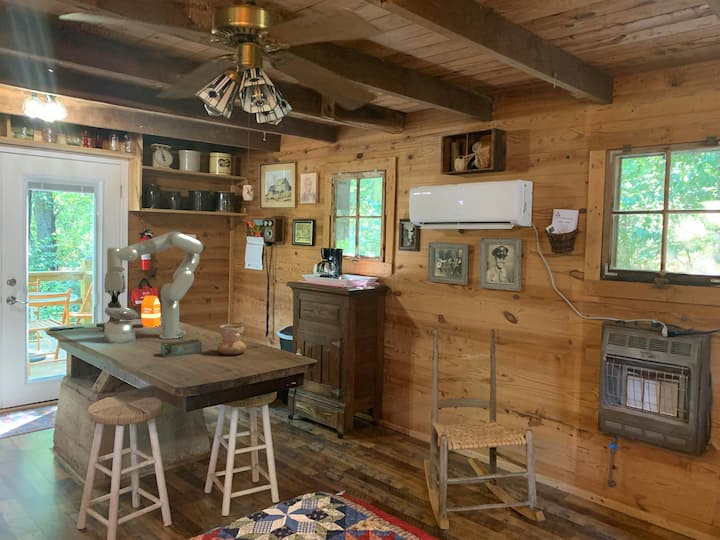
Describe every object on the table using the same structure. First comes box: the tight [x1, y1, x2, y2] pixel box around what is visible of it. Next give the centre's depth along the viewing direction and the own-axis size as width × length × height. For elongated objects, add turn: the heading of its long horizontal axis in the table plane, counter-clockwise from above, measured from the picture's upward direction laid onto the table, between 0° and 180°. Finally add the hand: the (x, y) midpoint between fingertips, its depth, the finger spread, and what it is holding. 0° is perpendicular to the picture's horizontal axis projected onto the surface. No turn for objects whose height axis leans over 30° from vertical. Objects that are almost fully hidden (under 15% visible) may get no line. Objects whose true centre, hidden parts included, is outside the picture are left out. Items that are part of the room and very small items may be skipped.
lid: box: [104, 302, 138, 321], centre depth 312 cm, size 17×20×4 cm
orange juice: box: [141, 294, 161, 328], centre depth 359 cm, size 8×9×20 cm
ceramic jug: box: [216, 324, 247, 356], centre depth 283 cm, size 18×14×14 cm
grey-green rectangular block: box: [160, 339, 203, 358], centre depth 281 cm, size 8×19×7 cm, turn 126°
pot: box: [95, 320, 145, 344], centre depth 312 cm, size 26×17×10 cm, turn 88°
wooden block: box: [102, 300, 121, 332], centre depth 343 cm, size 9×4×18 cm, turn 139°
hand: (114, 303), depth 305 cm, fingers closed
